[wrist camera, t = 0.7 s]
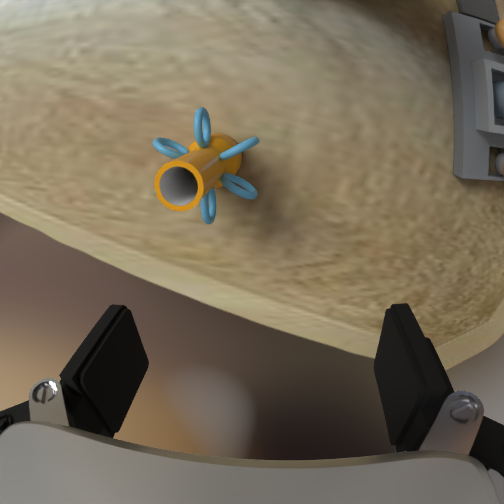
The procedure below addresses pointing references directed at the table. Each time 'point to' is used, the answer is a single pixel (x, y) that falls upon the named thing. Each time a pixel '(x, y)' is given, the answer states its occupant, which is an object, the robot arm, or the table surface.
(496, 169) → the orange rounded knob
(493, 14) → the mat
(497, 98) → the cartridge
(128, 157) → the table surface
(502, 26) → the light orange ball
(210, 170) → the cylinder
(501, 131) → the housing
